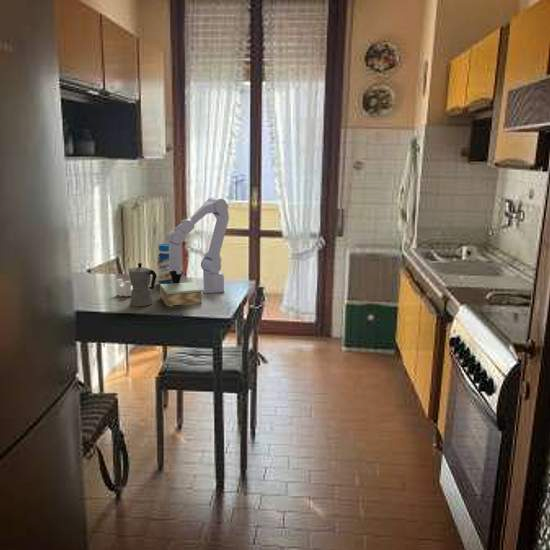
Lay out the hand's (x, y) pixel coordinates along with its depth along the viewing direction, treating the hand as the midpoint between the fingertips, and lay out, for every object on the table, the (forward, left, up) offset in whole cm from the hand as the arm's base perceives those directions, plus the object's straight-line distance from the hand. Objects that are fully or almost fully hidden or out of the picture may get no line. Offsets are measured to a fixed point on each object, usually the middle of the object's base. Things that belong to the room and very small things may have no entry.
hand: (176, 286), depth 248 cm
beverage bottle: (0, -26, -5) cm, 26 cm away
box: (0, +10, -4) cm, 10 cm away
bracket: (+18, -10, -5) cm, 21 cm away
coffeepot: (+17, +10, -5) cm, 20 cm away
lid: (0, +9, -2) cm, 9 cm away
